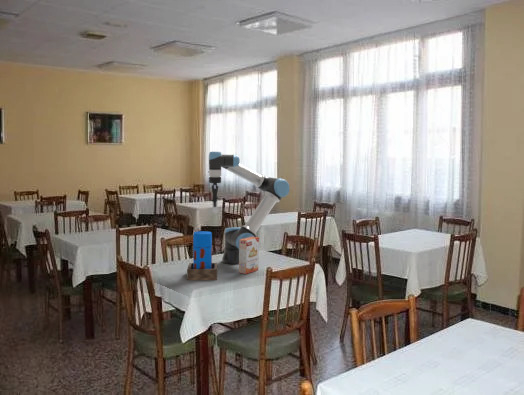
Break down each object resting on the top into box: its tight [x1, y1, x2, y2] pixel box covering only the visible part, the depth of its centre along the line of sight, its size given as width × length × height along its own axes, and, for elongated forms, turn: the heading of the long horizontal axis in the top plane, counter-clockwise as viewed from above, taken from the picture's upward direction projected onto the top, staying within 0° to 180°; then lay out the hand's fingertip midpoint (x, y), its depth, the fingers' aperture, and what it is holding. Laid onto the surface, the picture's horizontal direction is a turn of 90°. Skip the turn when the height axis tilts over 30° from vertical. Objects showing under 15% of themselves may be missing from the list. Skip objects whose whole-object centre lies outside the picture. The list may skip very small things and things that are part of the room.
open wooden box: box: [186, 262, 218, 281], centre depth 304 cm, size 17×17×6 cm
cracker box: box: [238, 236, 260, 275], centre depth 315 cm, size 14×6×21 cm, turn 147°
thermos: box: [192, 230, 213, 269], centre depth 303 cm, size 11×11×25 cm
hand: (215, 210), depth 319 cm, fingers open, 13 cm apart
